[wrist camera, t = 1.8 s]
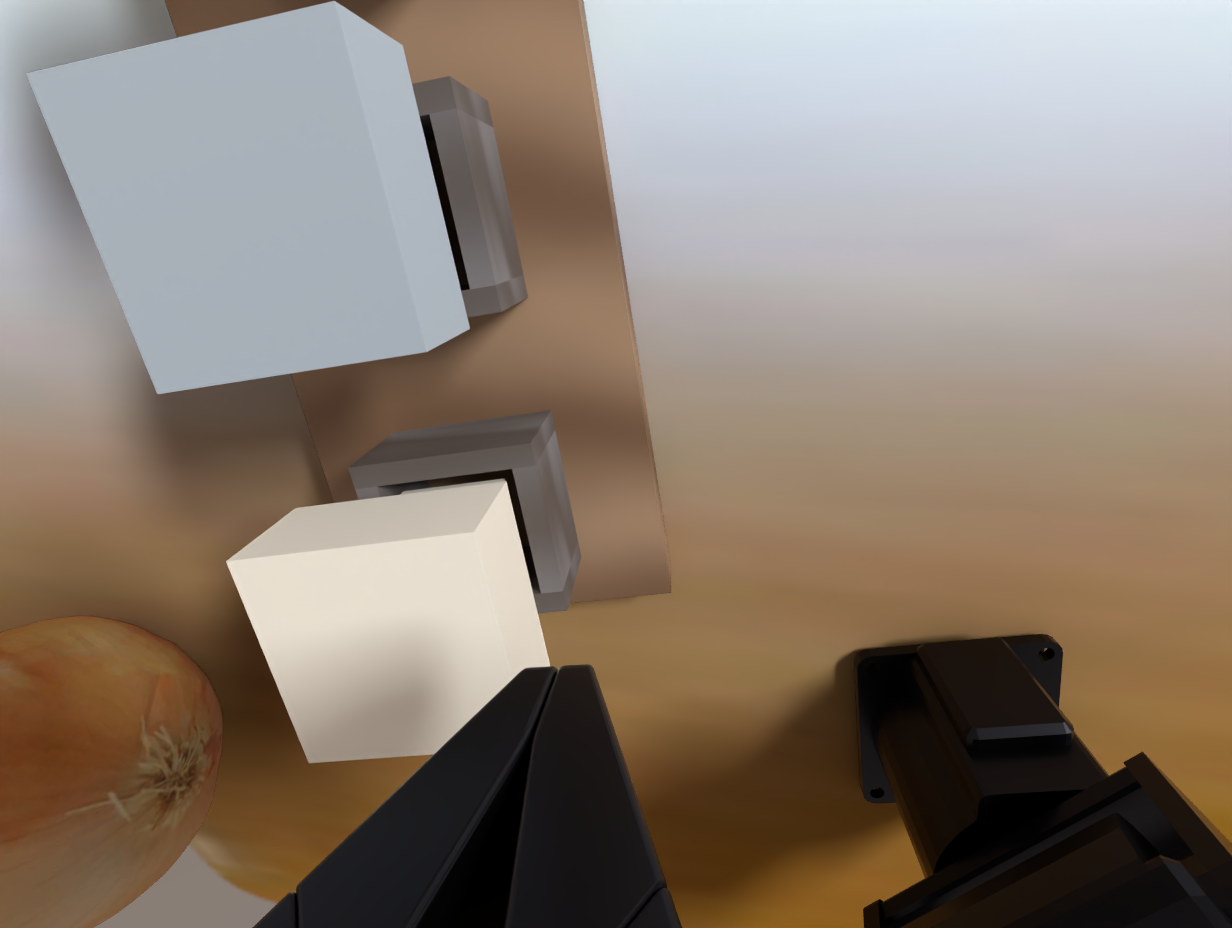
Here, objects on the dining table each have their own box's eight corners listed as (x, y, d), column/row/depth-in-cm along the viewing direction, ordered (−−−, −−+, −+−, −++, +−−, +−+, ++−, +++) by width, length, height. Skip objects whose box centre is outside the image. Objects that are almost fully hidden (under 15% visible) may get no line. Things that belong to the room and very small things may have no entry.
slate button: (506, 309, 15) (426, 352, 10) (318, 339, 16) (157, 394, 11) (456, 80, 14) (333, 0, 9) (250, 124, 14) (25, 73, 9)
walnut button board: (670, 569, 22) (671, 651, 18) (392, 598, 23) (331, 681, 19) (520, -409, 14) (455, -677, 10) (109, -281, 15) (-103, -470, 11)
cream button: (570, 600, 18) (530, 747, 13) (406, 617, 19) (308, 763, 14) (534, 437, 17) (473, 531, 11) (357, 461, 17) (226, 561, 12)
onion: (329, 739, 26) (137, 1030, 17) (135, 796, 28) (-134, 1086, 19) (189, 532, 23) (-138, 743, 14) (-16, 613, 25) (-423, 845, 16)
